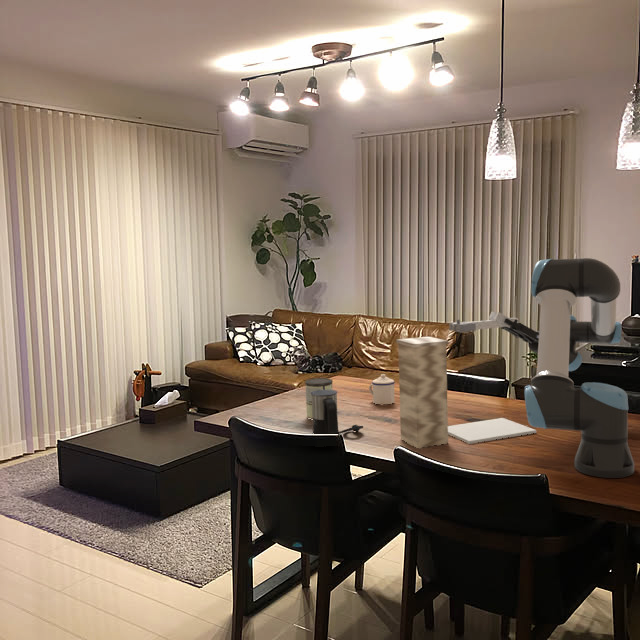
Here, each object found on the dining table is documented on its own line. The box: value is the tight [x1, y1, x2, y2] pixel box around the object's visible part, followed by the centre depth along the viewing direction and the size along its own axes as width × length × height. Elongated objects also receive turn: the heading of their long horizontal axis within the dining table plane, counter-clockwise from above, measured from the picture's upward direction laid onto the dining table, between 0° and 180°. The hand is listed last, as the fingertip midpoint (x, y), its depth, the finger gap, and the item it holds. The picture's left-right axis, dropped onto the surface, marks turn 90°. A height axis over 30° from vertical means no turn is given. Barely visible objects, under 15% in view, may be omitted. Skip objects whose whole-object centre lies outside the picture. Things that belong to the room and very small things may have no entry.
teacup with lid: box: [368, 373, 396, 405], centre depth 271 cm, size 12×9×12 cm
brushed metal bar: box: [448, 317, 519, 333], centre depth 220 cm, size 24×6×4 cm, turn 111°
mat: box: [448, 417, 537, 445], centre depth 224 cm, size 26×18×1 cm
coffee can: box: [304, 377, 334, 419], centre depth 250 cm, size 10×10×14 cm
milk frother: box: [311, 389, 364, 434], centre depth 227 cm, size 14×16×15 cm
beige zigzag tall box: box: [395, 336, 450, 449], centre depth 214 cm, size 12×12×33 cm
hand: (493, 315), depth 221 cm, fingers closed on brushed metal bar, 2 cm apart
